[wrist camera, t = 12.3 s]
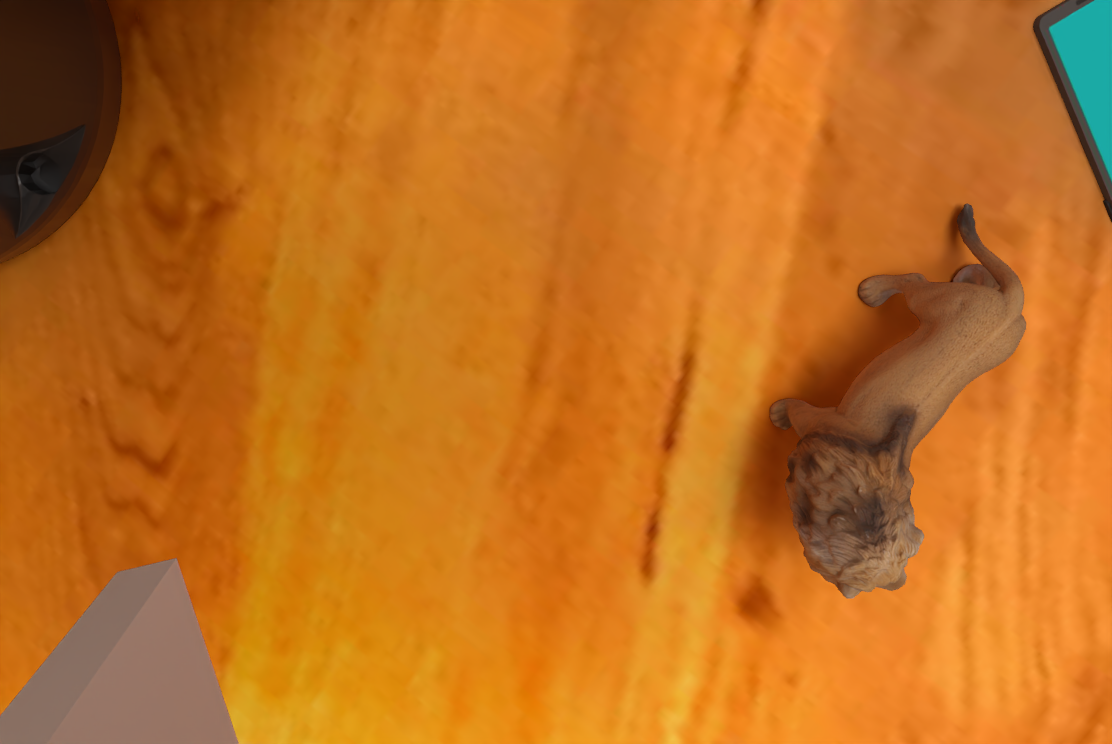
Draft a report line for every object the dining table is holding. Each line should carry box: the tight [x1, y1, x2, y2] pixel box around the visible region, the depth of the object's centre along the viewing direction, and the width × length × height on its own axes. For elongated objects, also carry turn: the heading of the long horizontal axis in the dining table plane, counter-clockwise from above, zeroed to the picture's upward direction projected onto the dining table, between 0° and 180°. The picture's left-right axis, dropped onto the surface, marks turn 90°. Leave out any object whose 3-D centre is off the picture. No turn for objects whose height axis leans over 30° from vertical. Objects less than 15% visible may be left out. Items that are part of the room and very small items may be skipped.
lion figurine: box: [770, 204, 1026, 598], centre depth 36 cm, size 15×5×9 cm, turn 152°
